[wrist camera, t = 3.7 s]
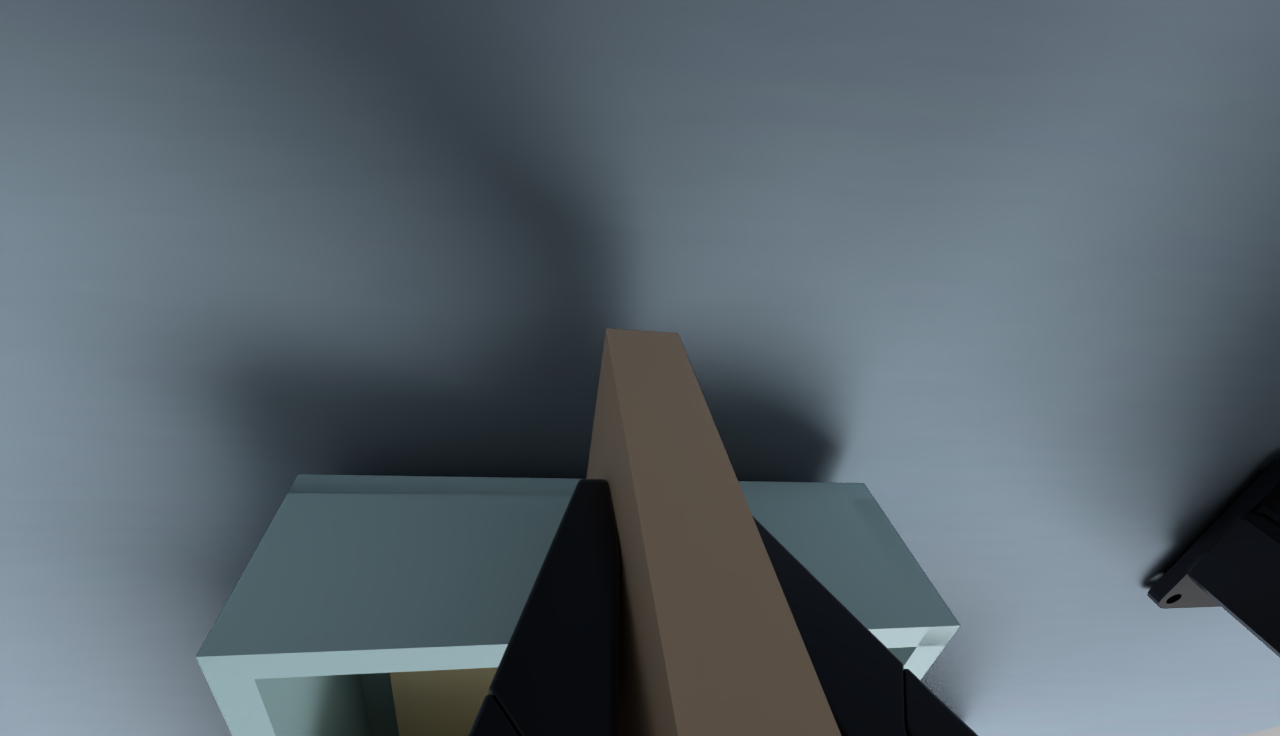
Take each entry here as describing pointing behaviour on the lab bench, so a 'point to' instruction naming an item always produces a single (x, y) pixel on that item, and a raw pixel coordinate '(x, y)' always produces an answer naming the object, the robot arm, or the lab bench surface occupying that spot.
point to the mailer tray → (510, 562)
